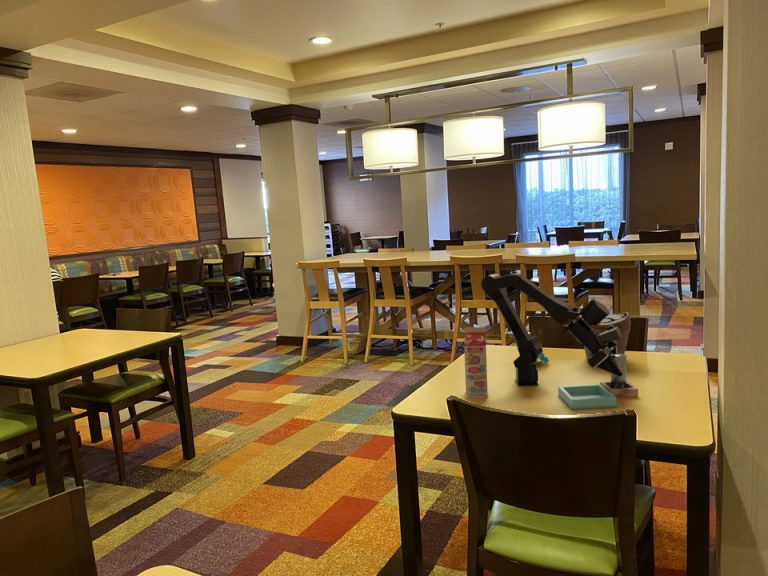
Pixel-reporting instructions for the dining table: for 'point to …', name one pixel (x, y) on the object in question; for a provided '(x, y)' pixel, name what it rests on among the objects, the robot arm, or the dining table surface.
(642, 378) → the dining table surface
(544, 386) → the dining table surface
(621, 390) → the collar
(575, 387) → the bin
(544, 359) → the gear
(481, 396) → the juice carton
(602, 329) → the broken terracotta flower pot
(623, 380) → the strut
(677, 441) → the dining table surface
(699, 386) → the dining table surface
